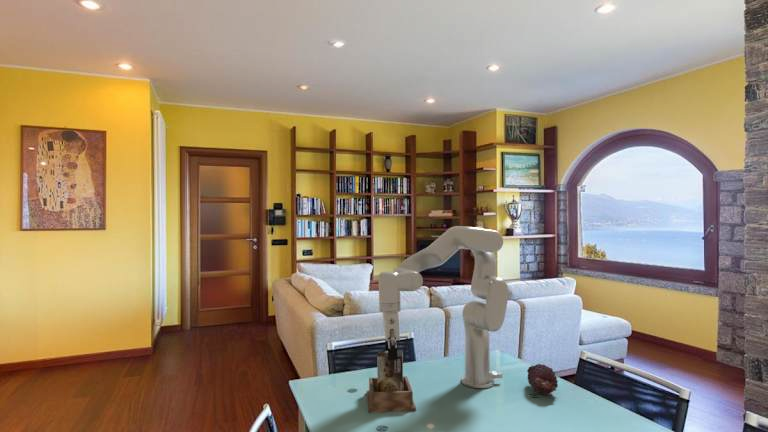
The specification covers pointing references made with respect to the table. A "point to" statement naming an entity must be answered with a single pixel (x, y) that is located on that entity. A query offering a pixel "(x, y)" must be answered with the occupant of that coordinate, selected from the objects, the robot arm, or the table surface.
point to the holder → (389, 398)
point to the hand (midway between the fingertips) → (391, 354)
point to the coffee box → (389, 372)
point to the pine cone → (542, 379)
